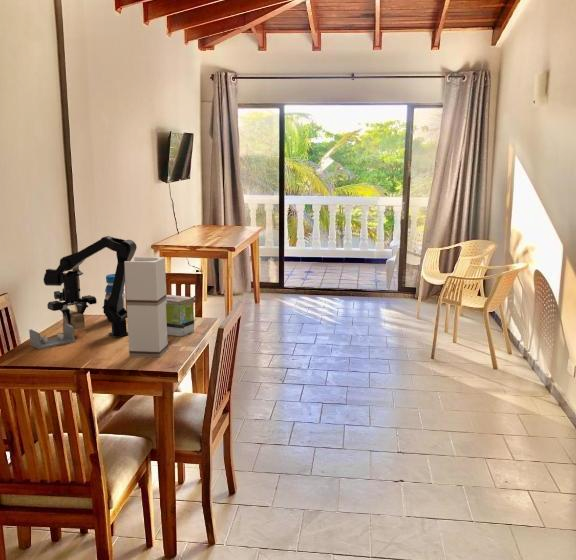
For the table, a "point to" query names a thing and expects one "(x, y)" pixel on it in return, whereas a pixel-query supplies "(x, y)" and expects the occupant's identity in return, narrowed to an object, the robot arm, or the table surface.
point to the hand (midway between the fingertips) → (73, 323)
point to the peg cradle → (59, 340)
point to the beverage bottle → (109, 287)
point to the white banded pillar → (146, 306)
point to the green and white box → (179, 315)
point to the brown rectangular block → (75, 320)
